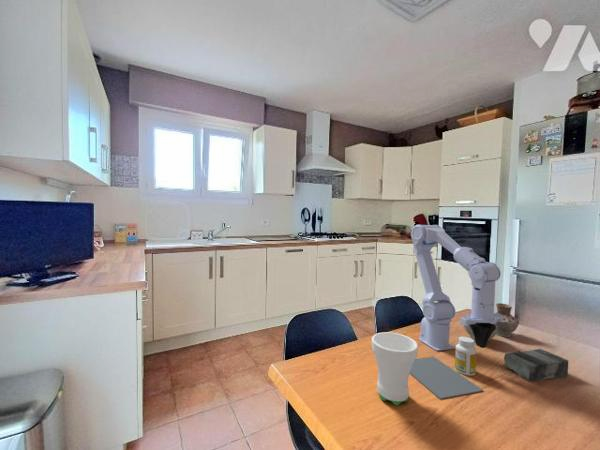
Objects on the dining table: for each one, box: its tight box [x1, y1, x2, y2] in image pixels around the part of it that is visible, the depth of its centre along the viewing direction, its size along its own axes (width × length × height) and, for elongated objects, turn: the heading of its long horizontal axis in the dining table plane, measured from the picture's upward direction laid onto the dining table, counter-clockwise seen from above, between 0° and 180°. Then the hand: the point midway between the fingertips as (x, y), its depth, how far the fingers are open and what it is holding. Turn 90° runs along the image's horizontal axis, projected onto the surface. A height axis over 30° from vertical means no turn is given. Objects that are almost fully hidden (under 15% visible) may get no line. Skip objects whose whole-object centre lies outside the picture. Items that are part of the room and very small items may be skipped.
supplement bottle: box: [454, 336, 477, 377], centre depth 82 cm, size 5×5×10 cm
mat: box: [409, 356, 484, 400], centre depth 80 cm, size 18×14×1 cm
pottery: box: [463, 302, 520, 344], centre depth 107 cm, size 11×25×12 cm, turn 115°
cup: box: [371, 331, 419, 406], centre depth 70 cm, size 11×11×14 cm
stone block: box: [503, 348, 569, 383], centre depth 83 cm, size 9×14×5 cm, turn 102°
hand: (480, 346), depth 84 cm, fingers closed
